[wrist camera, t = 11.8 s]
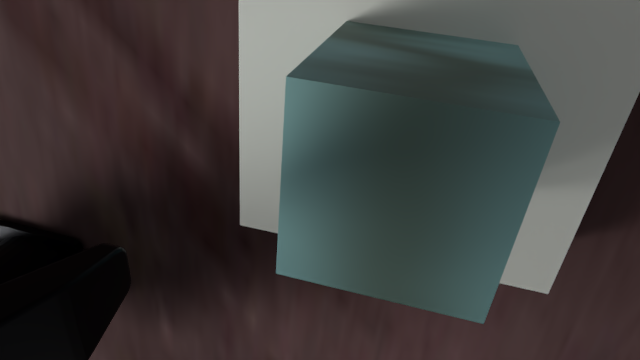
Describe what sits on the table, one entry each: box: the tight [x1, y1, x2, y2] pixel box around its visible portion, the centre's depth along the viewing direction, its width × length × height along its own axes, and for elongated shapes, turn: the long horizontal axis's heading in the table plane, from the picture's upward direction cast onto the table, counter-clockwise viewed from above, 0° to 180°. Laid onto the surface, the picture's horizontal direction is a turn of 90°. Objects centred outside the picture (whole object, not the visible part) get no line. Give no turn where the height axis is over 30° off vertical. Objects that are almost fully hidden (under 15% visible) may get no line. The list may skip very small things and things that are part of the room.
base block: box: [239, 0, 640, 294], centre depth 16 cm, size 12×12×3 cm
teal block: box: [276, 21, 560, 324], centre depth 12 cm, size 5×5×6 cm
